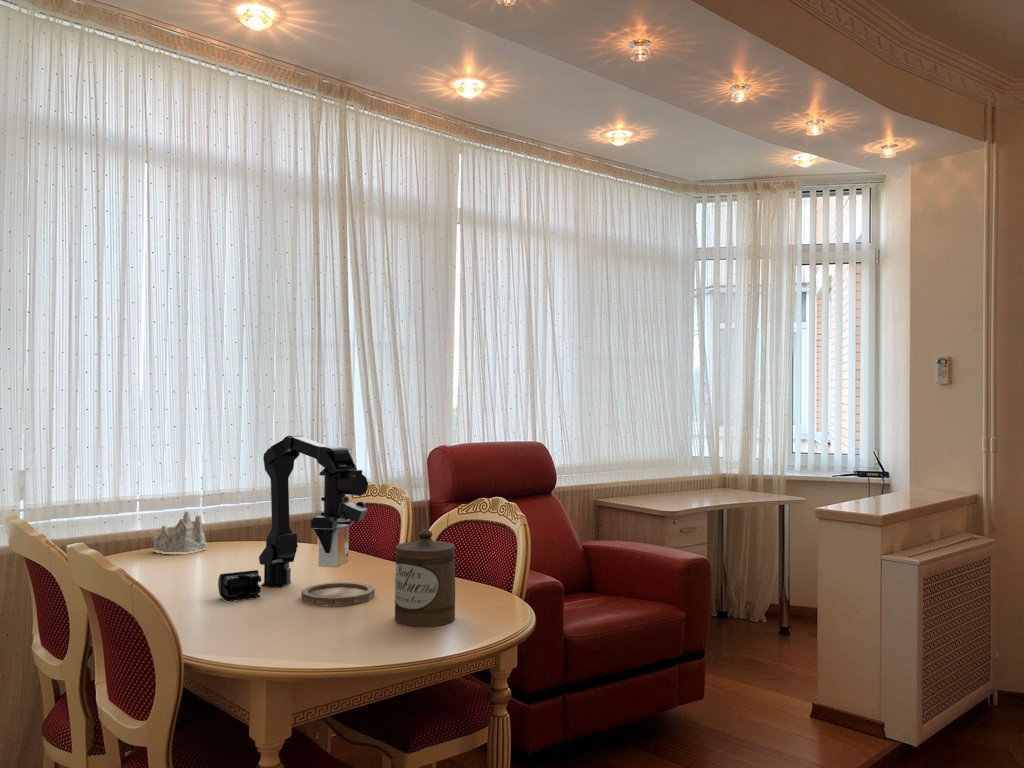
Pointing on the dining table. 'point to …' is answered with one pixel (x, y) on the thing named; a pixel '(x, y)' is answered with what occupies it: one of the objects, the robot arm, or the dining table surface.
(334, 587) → the round tray
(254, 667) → the dining table surface
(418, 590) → the wooden container
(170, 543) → the miniature castle
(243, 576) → the end cap
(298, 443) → the robot arm
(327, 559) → the small box
